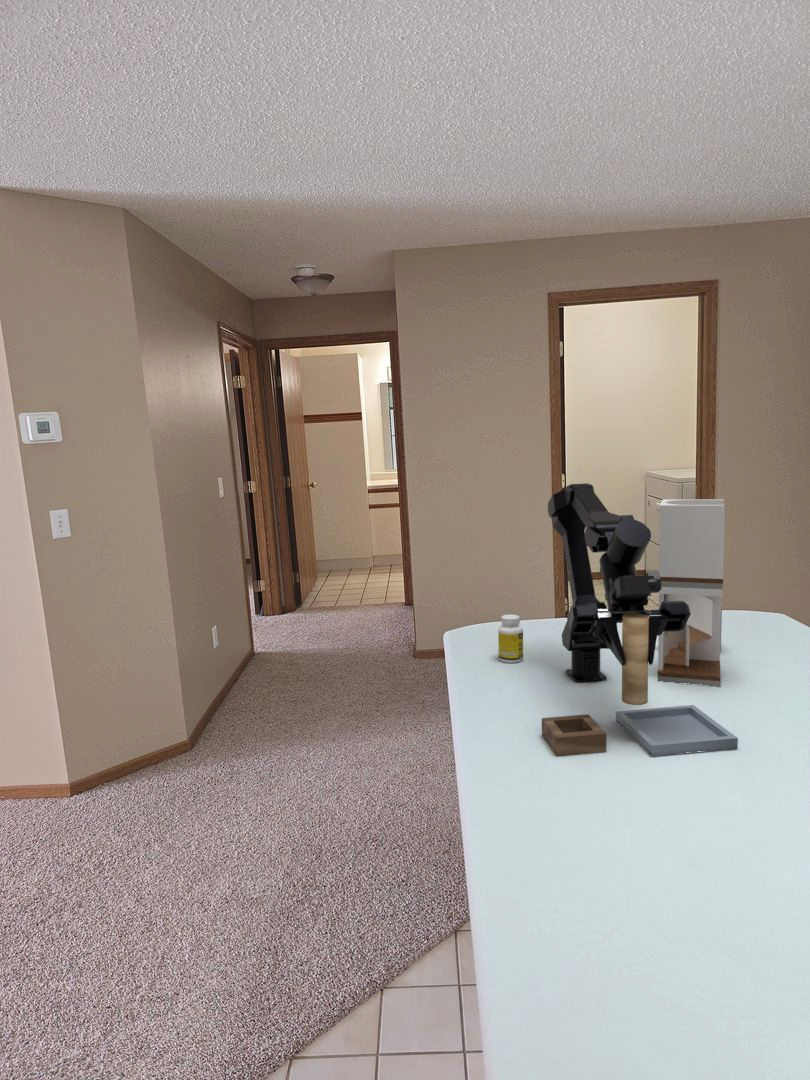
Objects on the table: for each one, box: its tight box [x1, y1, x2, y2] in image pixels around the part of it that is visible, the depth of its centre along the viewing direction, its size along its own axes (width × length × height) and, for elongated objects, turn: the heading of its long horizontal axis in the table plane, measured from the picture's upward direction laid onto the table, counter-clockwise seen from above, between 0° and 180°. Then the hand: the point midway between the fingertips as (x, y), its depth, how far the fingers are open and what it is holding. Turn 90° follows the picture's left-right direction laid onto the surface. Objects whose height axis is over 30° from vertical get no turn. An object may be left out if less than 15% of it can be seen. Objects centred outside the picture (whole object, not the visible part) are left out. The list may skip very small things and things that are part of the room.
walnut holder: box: [541, 713, 607, 757], centre depth 119 cm, size 8×8×3 cm
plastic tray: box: [615, 704, 739, 757], centre depth 121 cm, size 14×14×2 cm
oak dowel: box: [621, 613, 649, 706], centre depth 118 cm, size 4×4×14 cm
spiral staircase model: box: [657, 498, 726, 688], centre depth 145 cm, size 11×11×35 cm
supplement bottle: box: [497, 614, 524, 664], centre depth 162 cm, size 5×5×10 cm
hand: (637, 663), depth 117 cm, fingers closed on oak dowel, 4 cm apart
